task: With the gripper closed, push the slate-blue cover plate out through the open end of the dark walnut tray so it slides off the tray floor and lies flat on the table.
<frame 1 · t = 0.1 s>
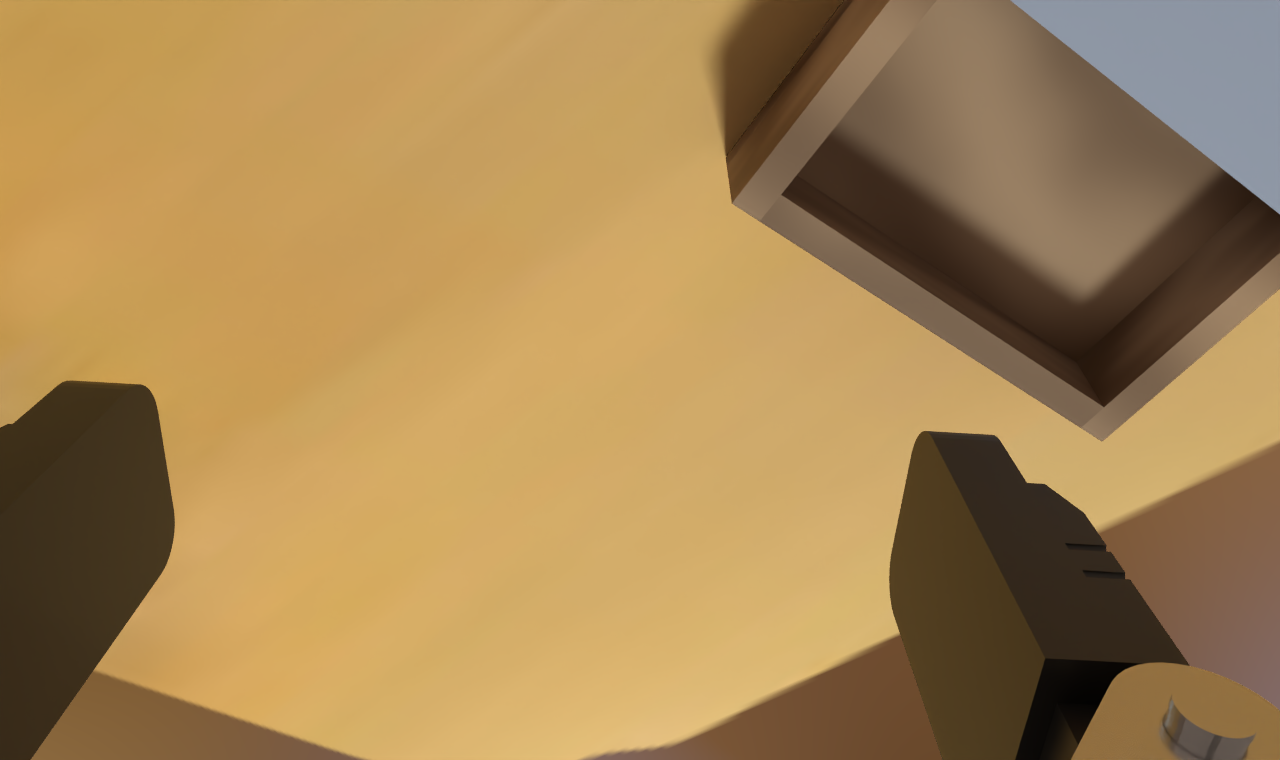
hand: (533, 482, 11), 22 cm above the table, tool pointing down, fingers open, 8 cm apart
walnut tray: (1112, 54, 30), on the table
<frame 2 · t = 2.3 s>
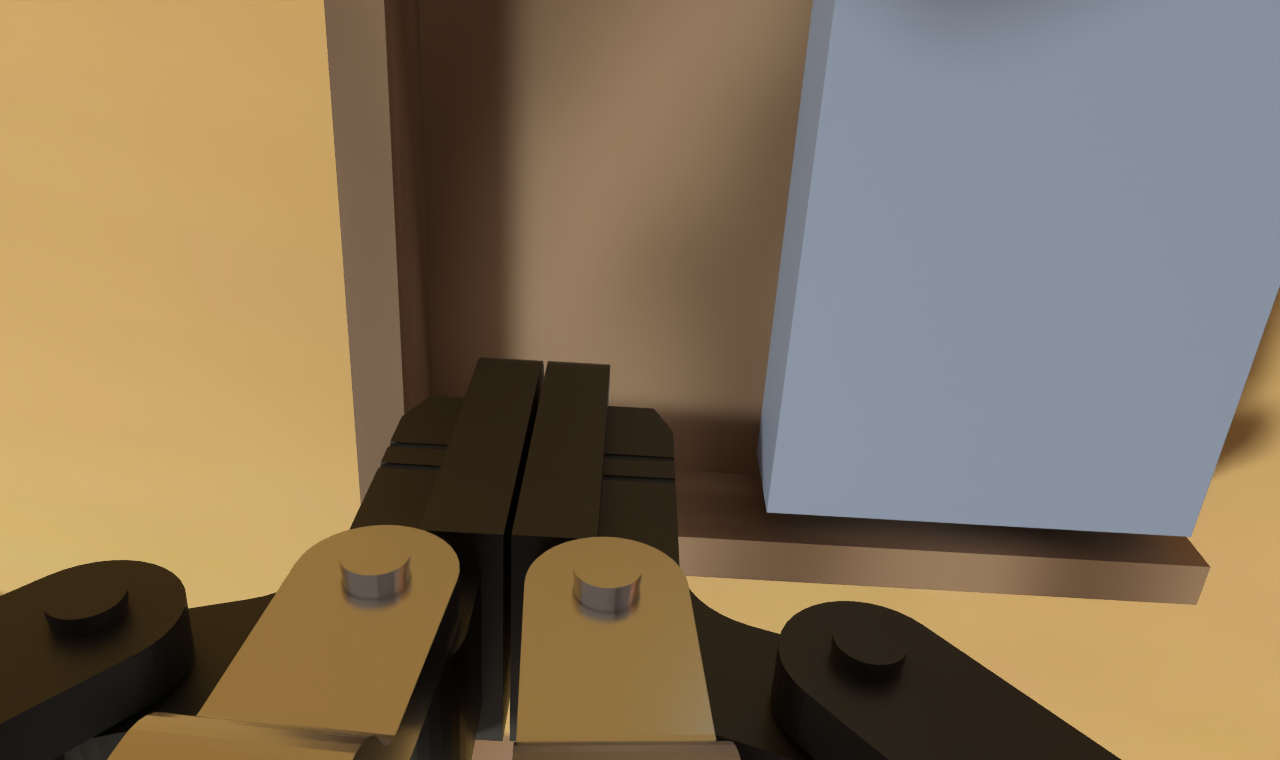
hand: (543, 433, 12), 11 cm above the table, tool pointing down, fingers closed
cover plate: (1004, 214, 21), point 1 cm above the table, touching walnut tray
walnut tray: (806, 192, 22), on the table
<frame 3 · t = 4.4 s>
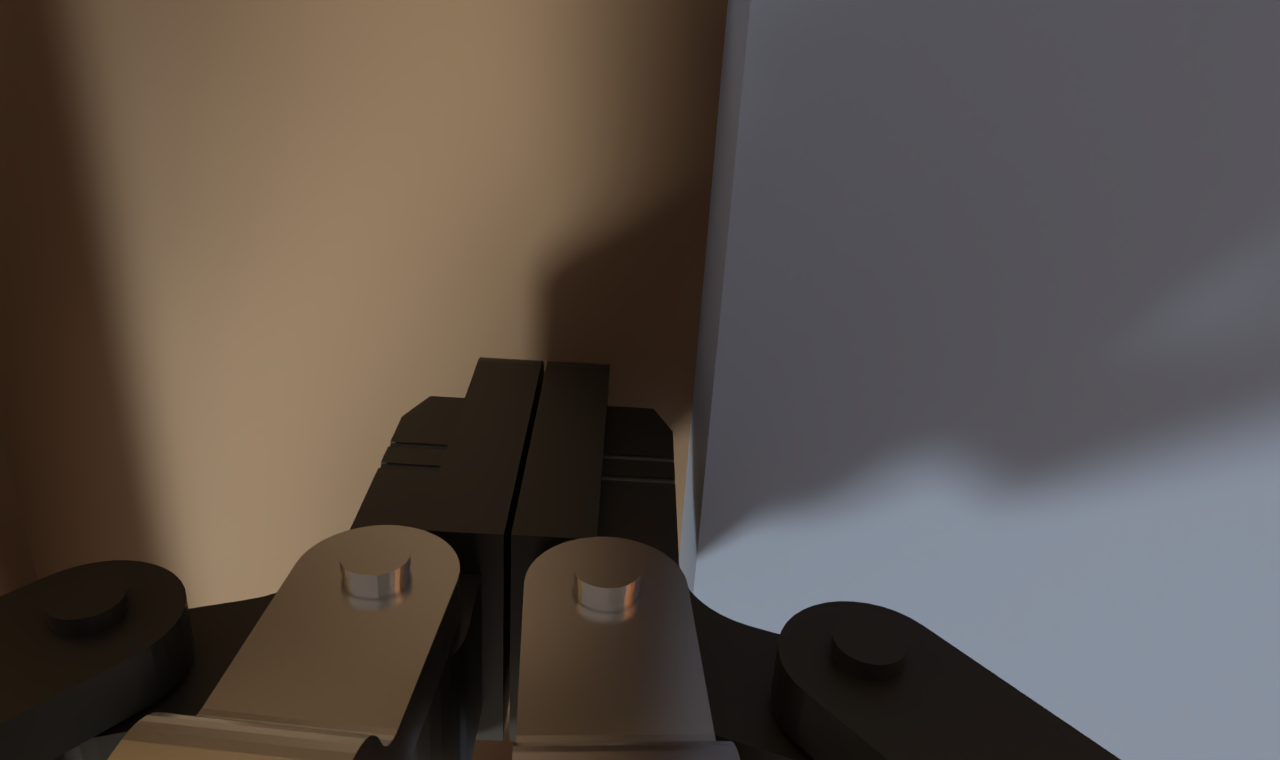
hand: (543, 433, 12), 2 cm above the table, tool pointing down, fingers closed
cover plate: (1049, 446, 13), point 1 cm above the table, touching gripper, walnut tray
walnut tray: (638, 389, 13), on the table
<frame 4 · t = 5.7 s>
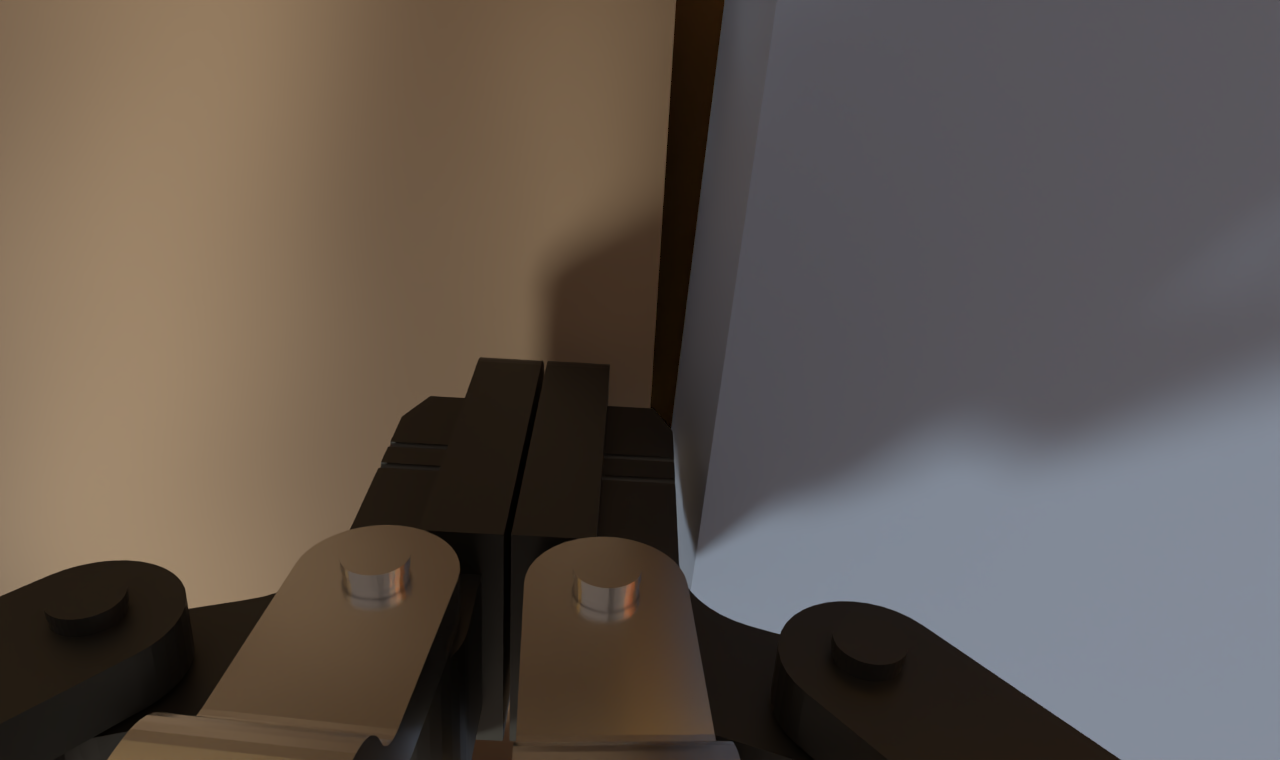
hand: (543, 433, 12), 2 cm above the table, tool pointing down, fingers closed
cover plate: (1010, 452, 13), on the table, tilted 5°
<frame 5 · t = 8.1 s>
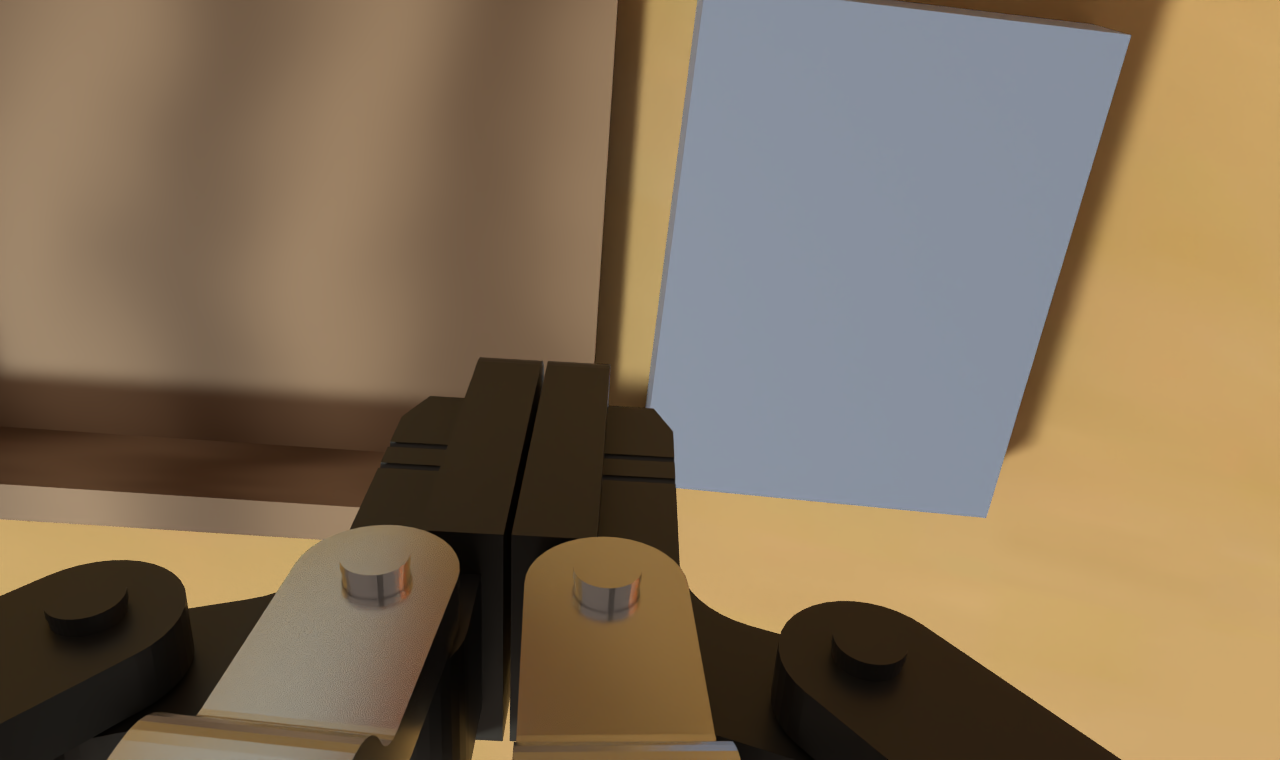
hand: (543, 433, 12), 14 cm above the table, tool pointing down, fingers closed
cover plate: (842, 248, 26), on the table
walnut tray: (233, 188, 25), on the table
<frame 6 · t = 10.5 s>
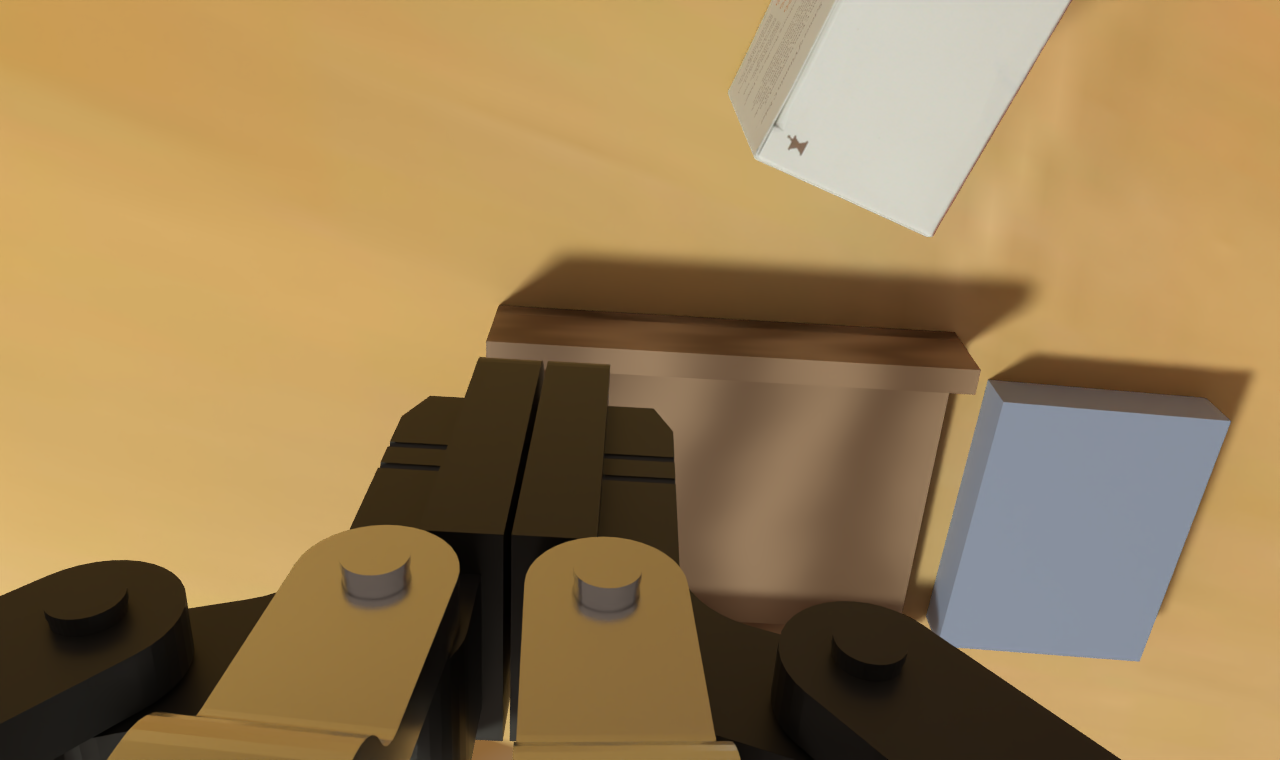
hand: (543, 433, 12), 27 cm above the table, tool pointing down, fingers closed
cover plate: (1054, 507, 45), on the table
small box: (845, 18, 36), on the table
walnut tray: (710, 484, 44), on the table
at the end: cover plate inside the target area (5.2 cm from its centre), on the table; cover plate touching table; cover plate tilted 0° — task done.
